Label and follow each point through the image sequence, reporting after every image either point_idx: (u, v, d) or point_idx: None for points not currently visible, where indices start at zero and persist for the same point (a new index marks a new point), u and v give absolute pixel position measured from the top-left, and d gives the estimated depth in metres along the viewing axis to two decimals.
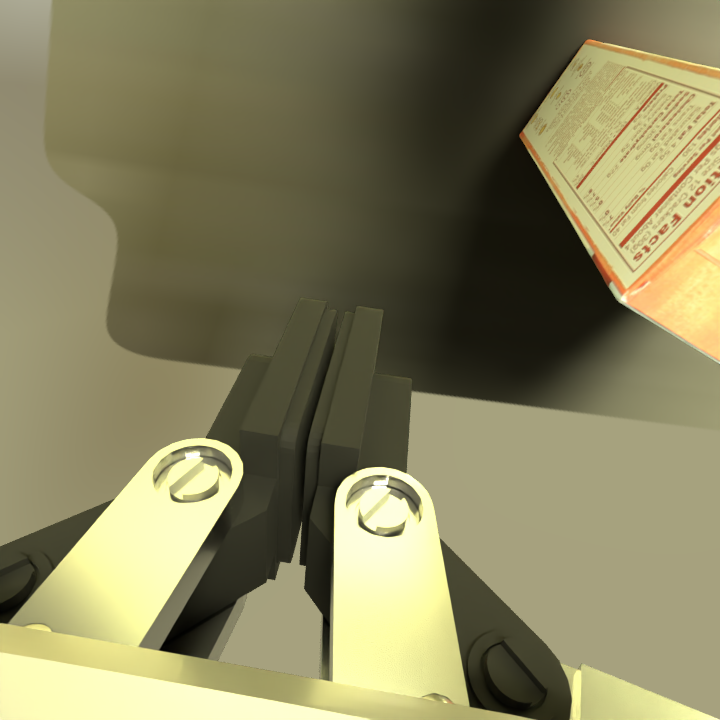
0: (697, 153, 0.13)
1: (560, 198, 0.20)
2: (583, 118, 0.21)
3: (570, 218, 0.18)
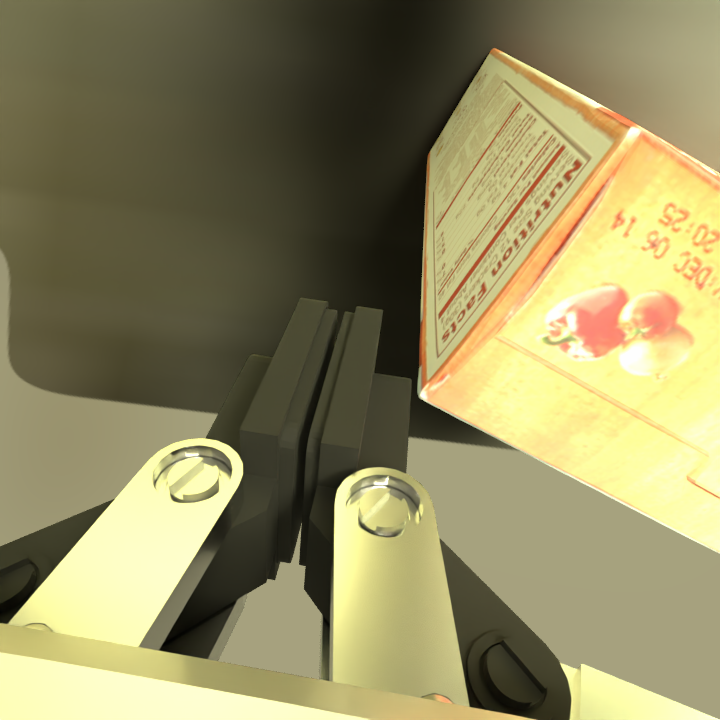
0: (518, 200, 0.10)
1: (424, 237, 0.16)
2: (463, 140, 0.18)
3: (422, 266, 0.15)
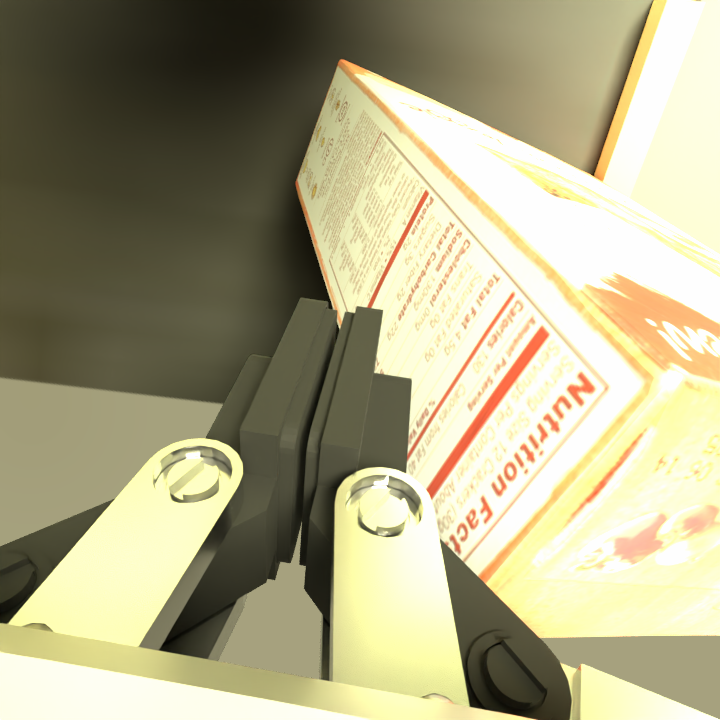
0: (493, 381, 0.08)
1: None
2: (350, 201, 0.16)
3: None
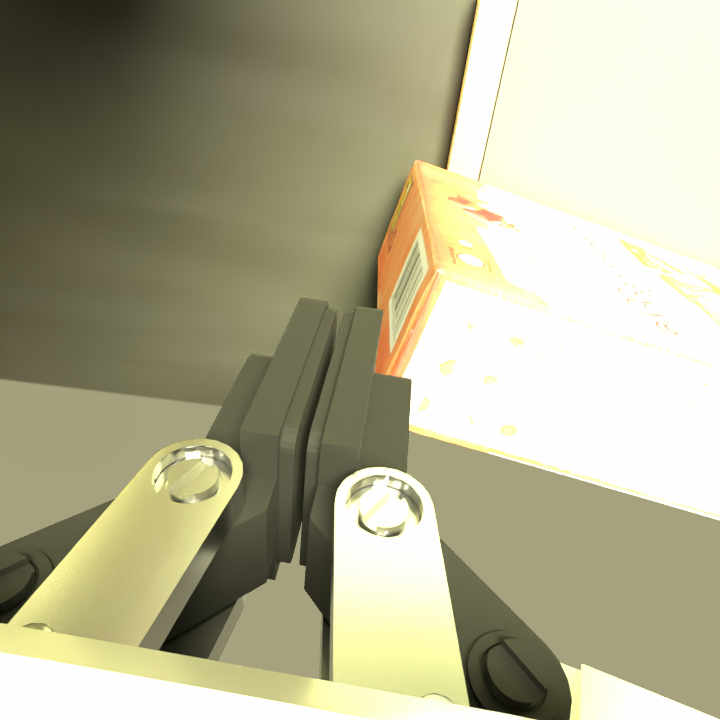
0: None
1: (710, 515, 0.18)
2: (663, 437, 0.16)
3: None
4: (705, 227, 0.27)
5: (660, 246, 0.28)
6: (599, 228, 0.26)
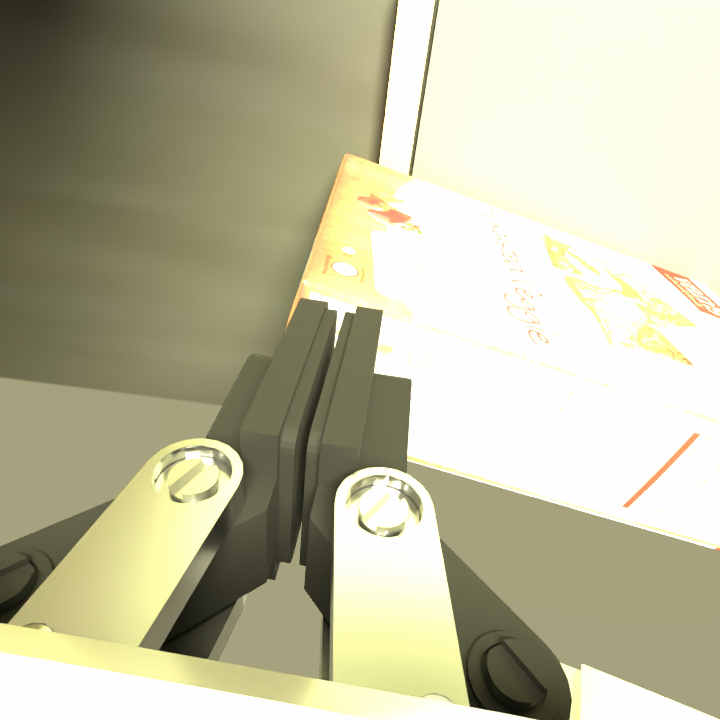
0: None
1: (593, 512, 0.19)
2: (537, 440, 0.17)
3: (642, 527, 0.19)
4: (636, 222, 0.27)
5: (593, 241, 0.28)
6: (528, 224, 0.26)
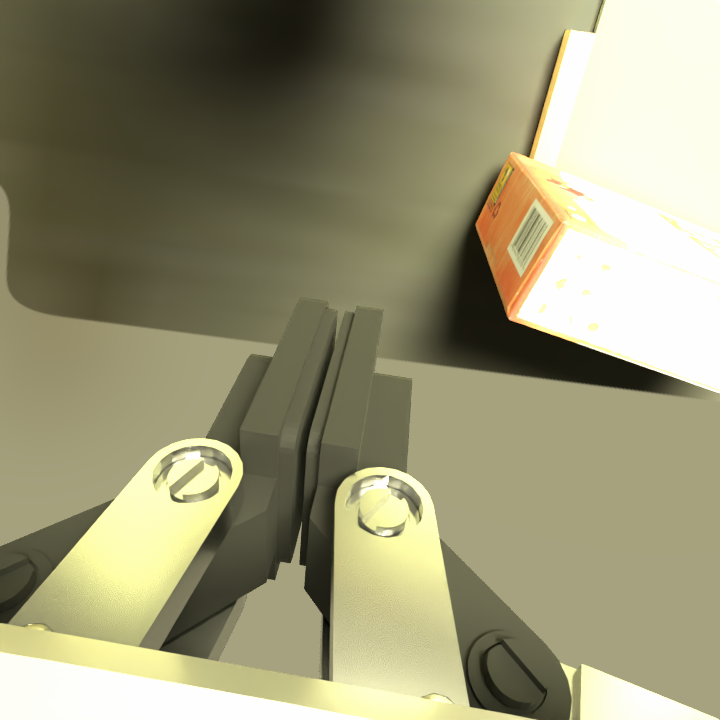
0: None
1: (716, 390, 0.28)
2: (690, 332, 0.26)
3: None
4: (718, 205, 0.36)
5: (685, 219, 0.37)
6: (642, 205, 0.35)
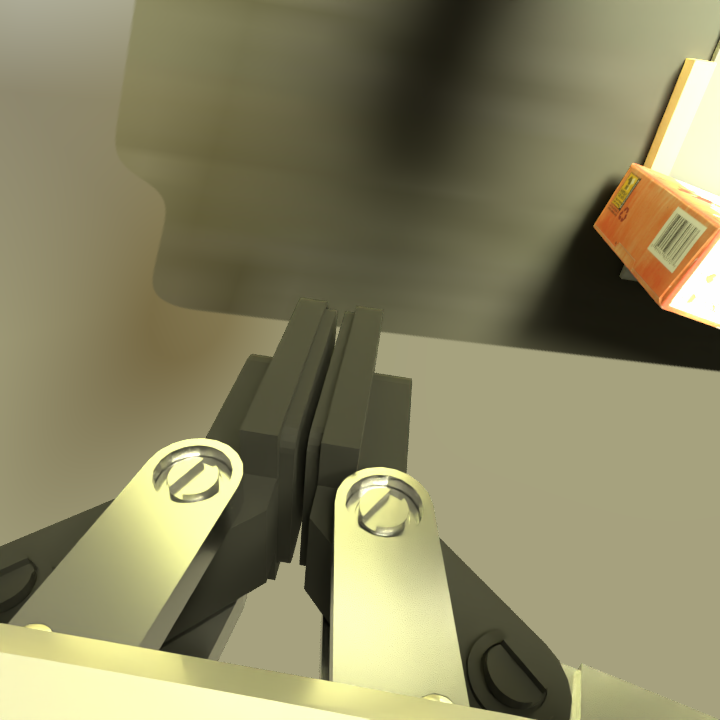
0: None
1: None
2: None
3: None
4: None
5: None
6: None
